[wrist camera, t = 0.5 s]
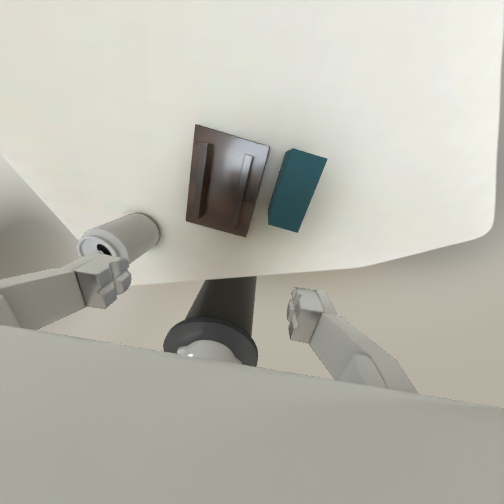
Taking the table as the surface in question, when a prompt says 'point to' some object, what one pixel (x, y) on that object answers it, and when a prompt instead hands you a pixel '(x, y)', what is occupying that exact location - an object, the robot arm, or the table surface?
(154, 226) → the can
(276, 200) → the back pad
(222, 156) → the board
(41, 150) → the table surface
